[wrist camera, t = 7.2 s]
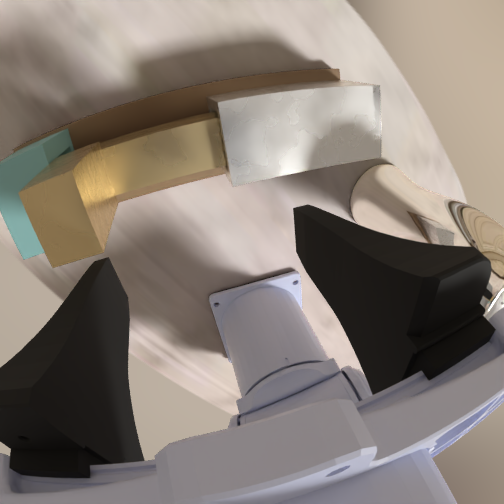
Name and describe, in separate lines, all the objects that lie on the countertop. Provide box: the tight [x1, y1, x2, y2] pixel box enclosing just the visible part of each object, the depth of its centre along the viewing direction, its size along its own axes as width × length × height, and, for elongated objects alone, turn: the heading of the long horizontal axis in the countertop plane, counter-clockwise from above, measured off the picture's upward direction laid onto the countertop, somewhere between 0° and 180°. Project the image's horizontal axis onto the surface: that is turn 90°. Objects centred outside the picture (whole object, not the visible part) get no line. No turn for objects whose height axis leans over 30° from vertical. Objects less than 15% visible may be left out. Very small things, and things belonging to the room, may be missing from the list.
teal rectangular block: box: [0, 128, 74, 260], centre depth 15 cm, size 6×4×4 cm
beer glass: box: [350, 164, 504, 320], centre depth 19 cm, size 7×7×15 cm
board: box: [13, 69, 340, 203], centre depth 18 cm, size 6×22×1 cm, turn 98°
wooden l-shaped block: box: [18, 111, 227, 268], centre depth 14 cm, size 4×13×8 cm, turn 98°
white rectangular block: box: [206, 80, 381, 187], centre depth 17 cm, size 4×9×4 cm, turn 98°
